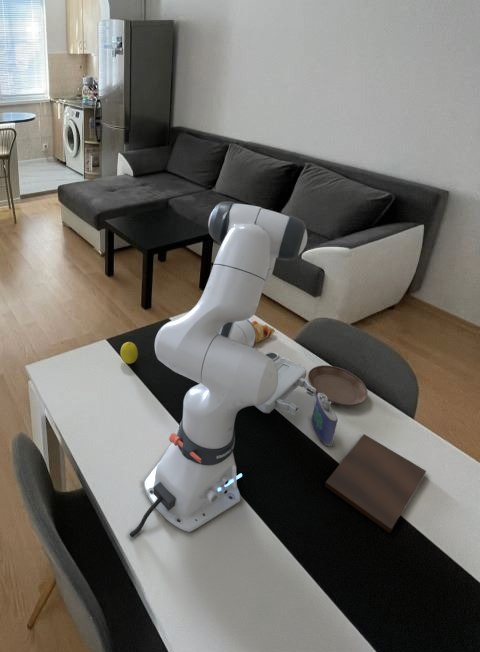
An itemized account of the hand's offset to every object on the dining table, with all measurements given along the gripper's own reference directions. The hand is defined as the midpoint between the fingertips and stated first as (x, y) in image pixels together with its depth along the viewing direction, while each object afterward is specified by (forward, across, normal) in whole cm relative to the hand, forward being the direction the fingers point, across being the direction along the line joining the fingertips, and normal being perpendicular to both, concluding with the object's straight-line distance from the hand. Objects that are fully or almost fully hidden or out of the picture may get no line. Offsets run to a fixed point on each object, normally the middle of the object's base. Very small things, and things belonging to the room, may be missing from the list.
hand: (305, 401), depth 112 cm
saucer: (+1, +17, +7) cm, 18 cm away
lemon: (-46, -20, +7) cm, 51 cm away
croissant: (-29, +18, +7) cm, 35 cm away
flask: (+5, 0, +7) cm, 8 cm away
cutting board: (+19, -4, +6) cm, 20 cm away
